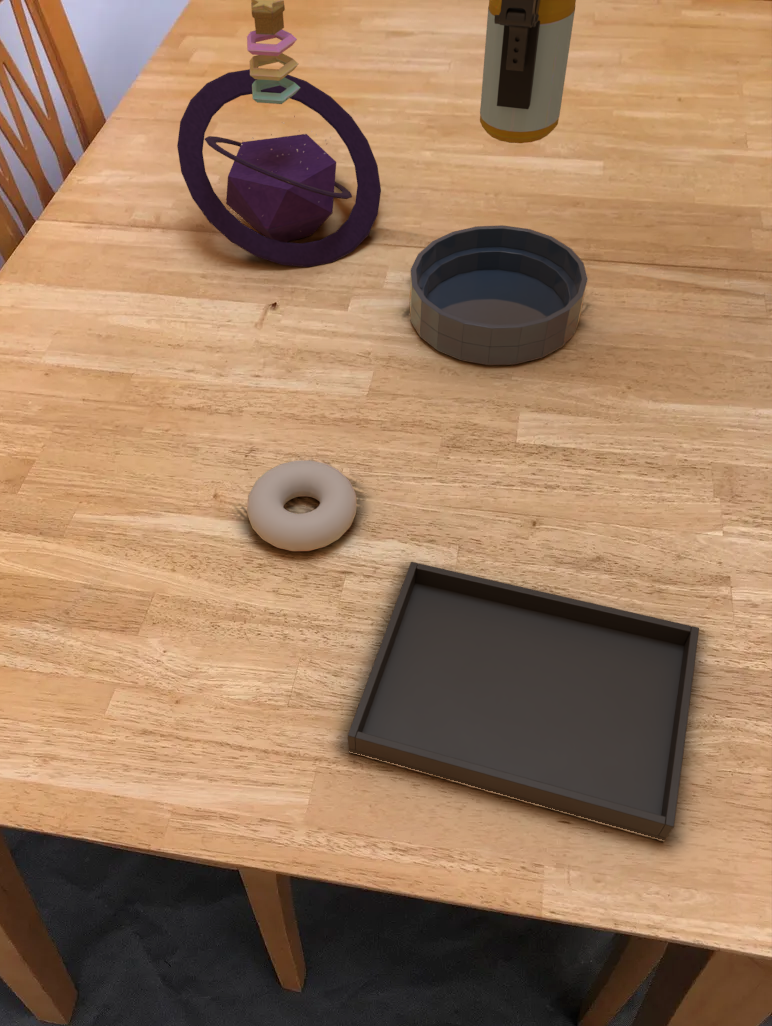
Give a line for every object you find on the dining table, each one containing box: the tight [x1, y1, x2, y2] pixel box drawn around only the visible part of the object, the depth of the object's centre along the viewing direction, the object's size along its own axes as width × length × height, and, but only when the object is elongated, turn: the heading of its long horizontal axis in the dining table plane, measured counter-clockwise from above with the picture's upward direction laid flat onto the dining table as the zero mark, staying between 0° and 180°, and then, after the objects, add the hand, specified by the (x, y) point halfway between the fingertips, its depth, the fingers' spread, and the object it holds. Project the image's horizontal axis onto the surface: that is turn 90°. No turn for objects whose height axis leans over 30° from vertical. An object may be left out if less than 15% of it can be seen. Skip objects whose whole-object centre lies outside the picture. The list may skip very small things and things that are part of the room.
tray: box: [347, 561, 700, 841], centre depth 71 cm, size 23×17×3 cm
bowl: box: [409, 224, 589, 366], centre depth 99 cm, size 18×18×5 cm
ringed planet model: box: [176, 0, 382, 268], centre depth 103 cm, size 22×21×25 cm
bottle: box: [479, 0, 577, 144], centre depth 78 cm, size 7×7×15 cm
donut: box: [246, 459, 358, 552], centre depth 83 cm, size 10×3×10 cm
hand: (523, 84), depth 81 cm, fingers closed on bottle, 7 cm apart
